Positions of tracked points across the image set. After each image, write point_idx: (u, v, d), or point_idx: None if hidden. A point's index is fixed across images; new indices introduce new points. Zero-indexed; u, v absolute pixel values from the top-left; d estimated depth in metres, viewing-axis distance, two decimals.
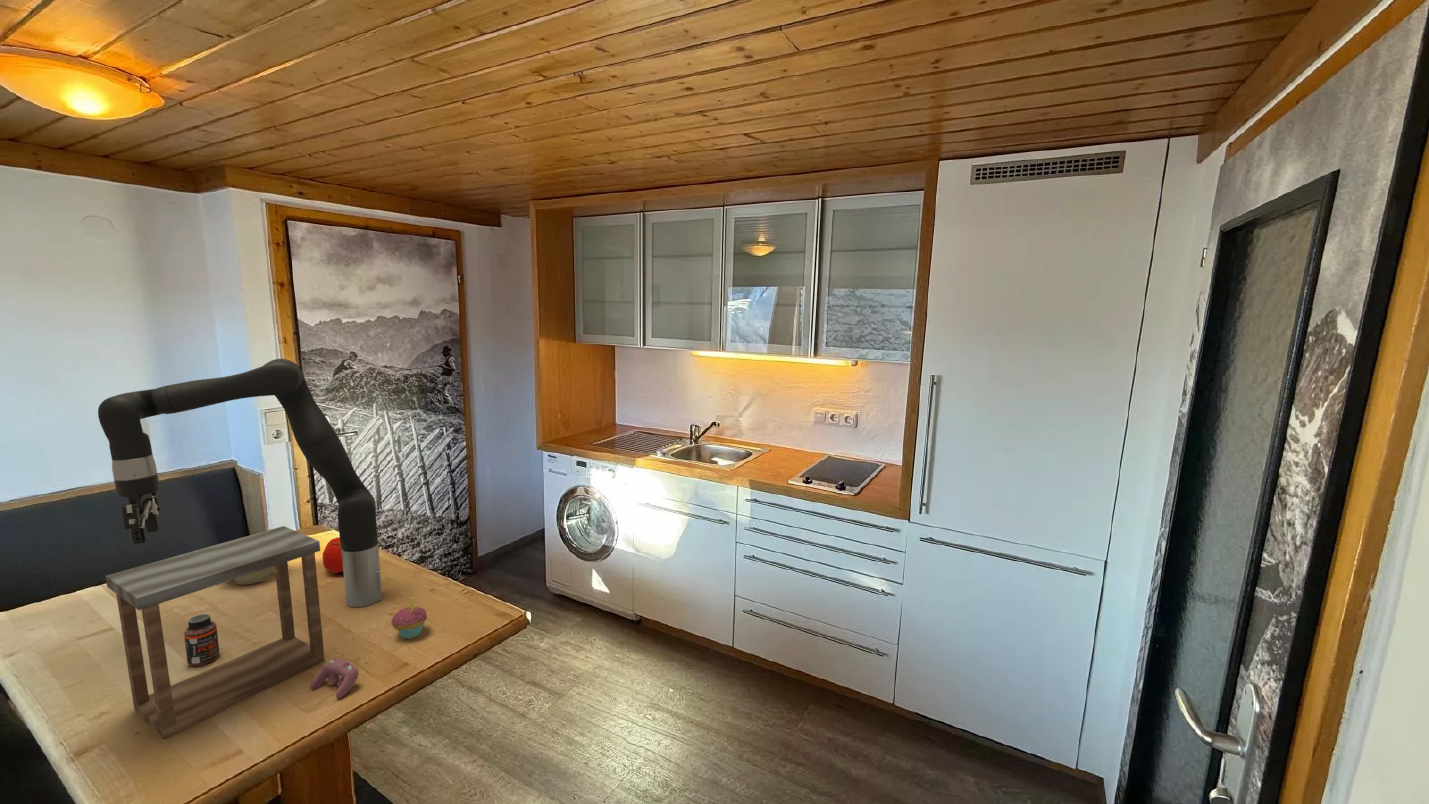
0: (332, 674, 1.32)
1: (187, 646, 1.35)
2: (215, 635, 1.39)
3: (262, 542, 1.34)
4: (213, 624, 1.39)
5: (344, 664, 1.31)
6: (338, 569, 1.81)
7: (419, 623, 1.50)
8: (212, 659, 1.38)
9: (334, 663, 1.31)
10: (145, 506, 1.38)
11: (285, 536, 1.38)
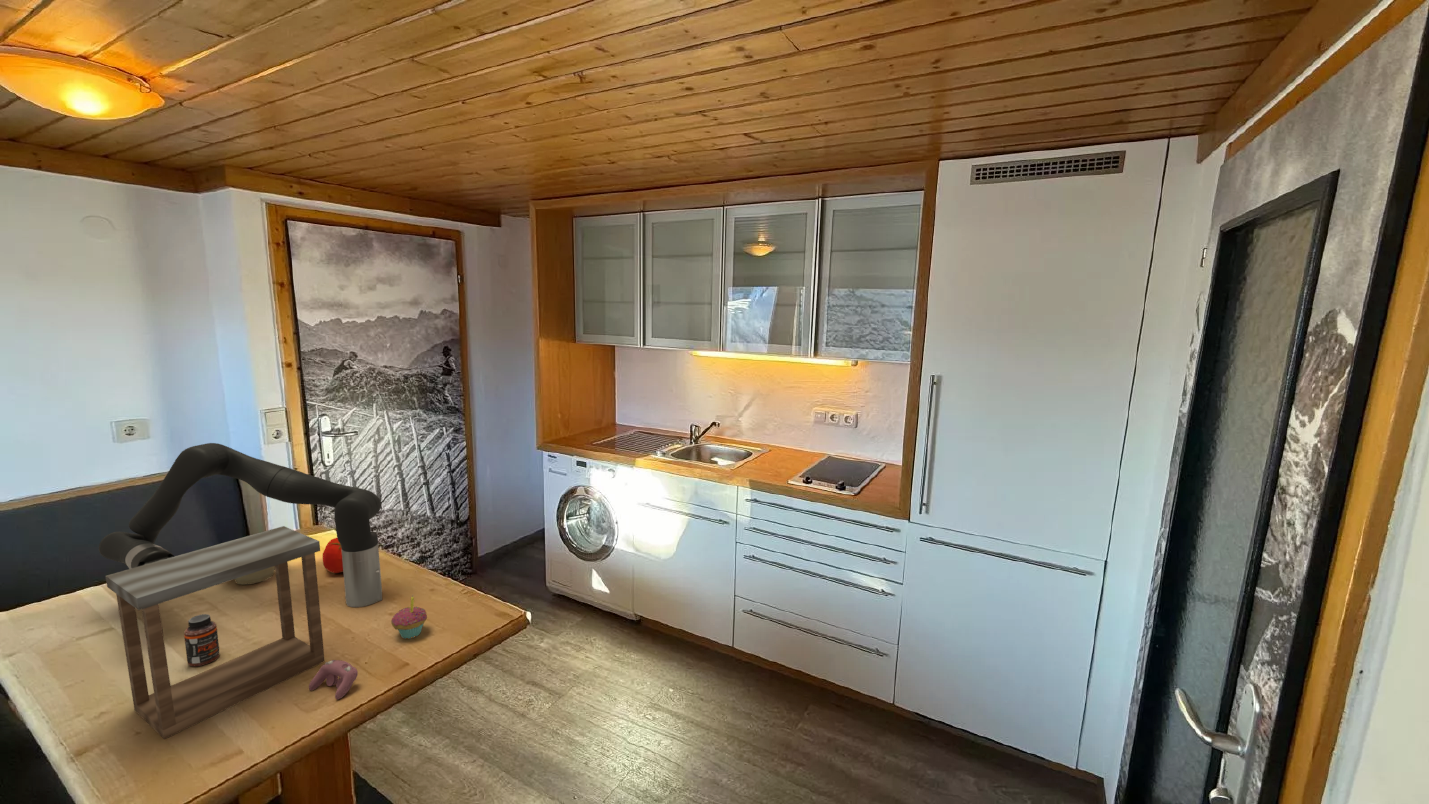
0: (331, 675, 1.31)
1: (187, 646, 1.35)
2: (215, 635, 1.39)
3: (262, 542, 1.34)
4: (213, 624, 1.39)
5: (342, 665, 1.30)
6: (338, 569, 1.81)
7: (419, 623, 1.50)
8: (212, 659, 1.38)
9: (333, 664, 1.31)
10: None
11: (285, 536, 1.38)
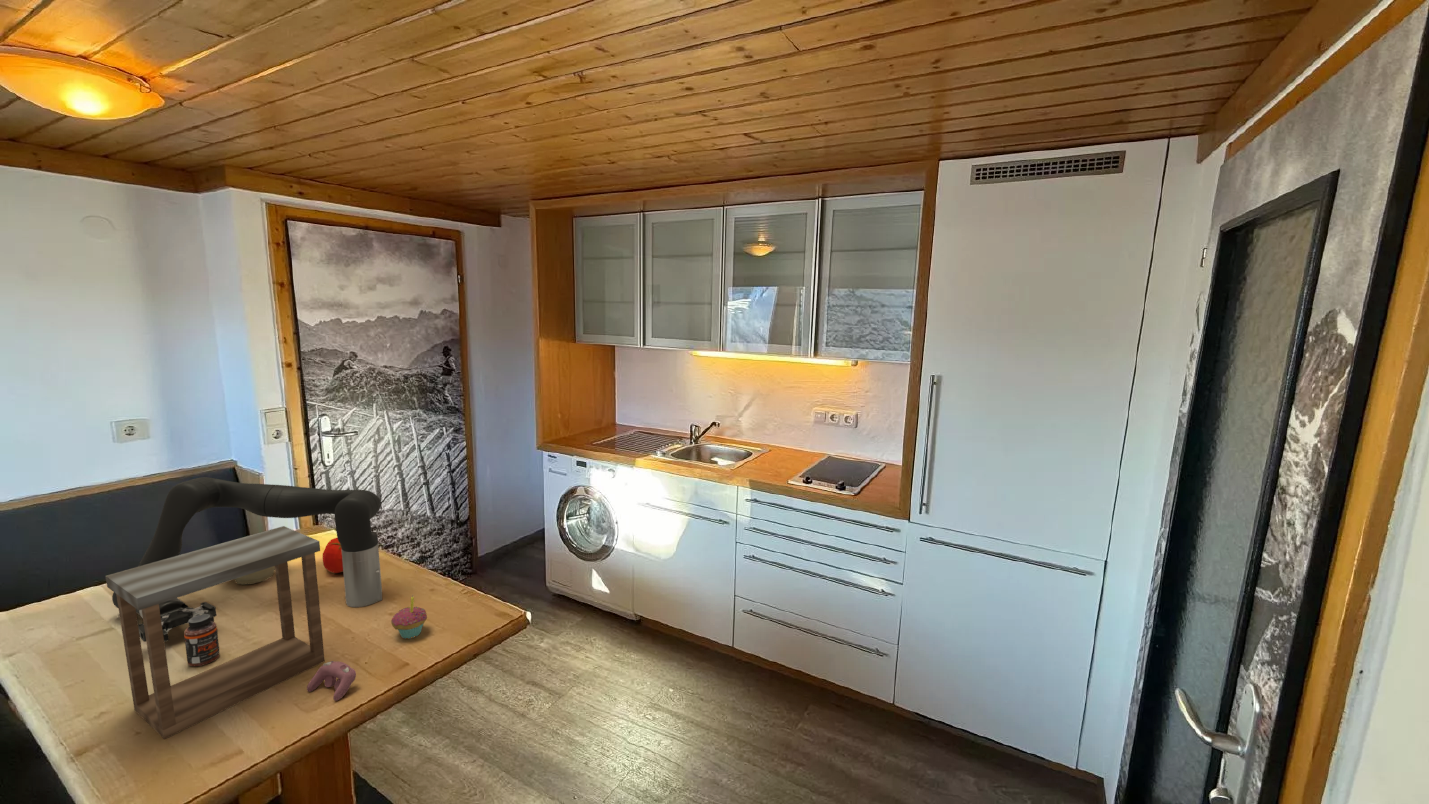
0: (329, 676, 1.31)
1: (187, 646, 1.35)
2: (215, 635, 1.39)
3: (262, 542, 1.34)
4: (213, 624, 1.39)
5: (341, 666, 1.30)
6: (338, 569, 1.81)
7: (419, 623, 1.50)
8: (212, 659, 1.38)
9: (331, 665, 1.30)
10: None
11: (285, 536, 1.38)
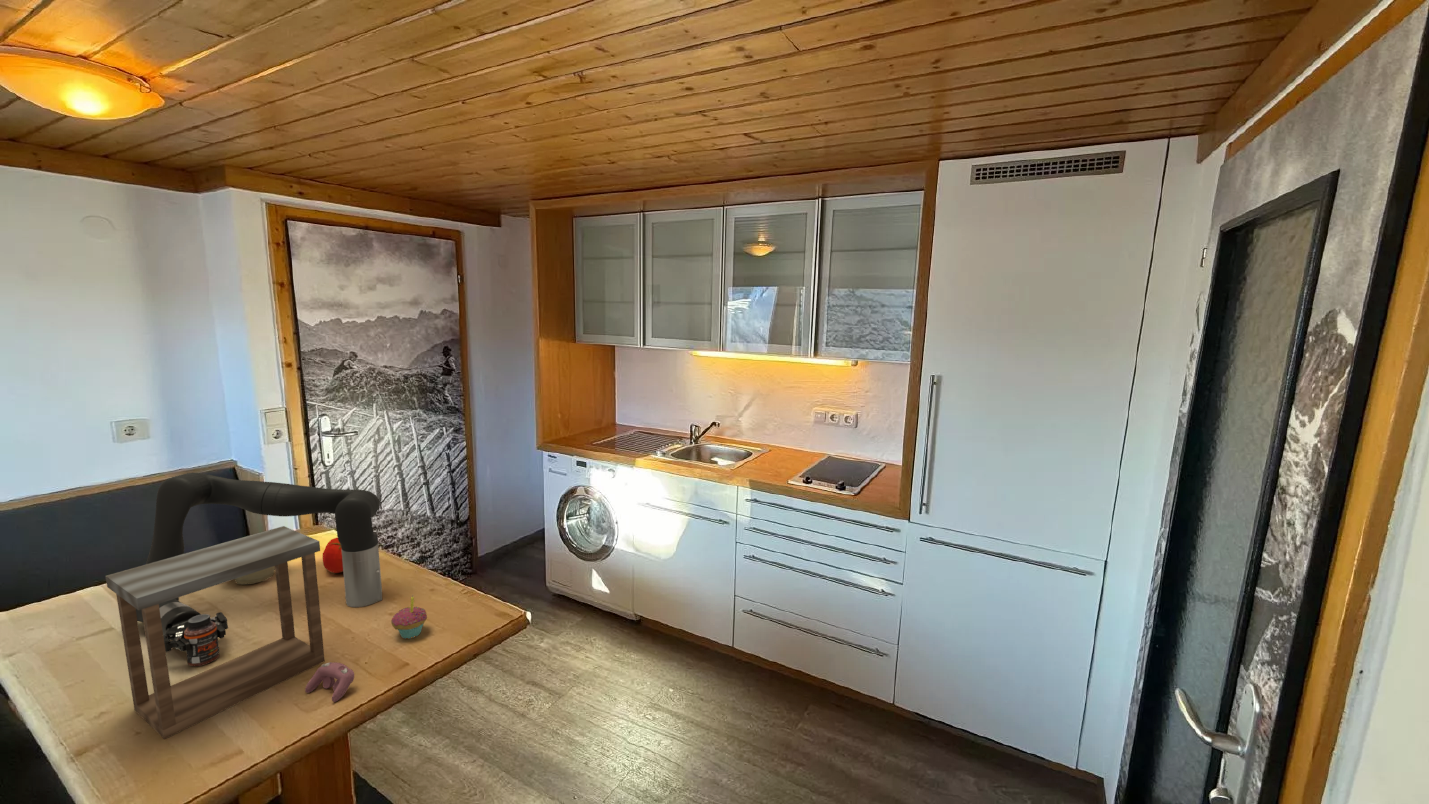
0: (327, 677, 1.31)
1: None
2: (215, 635, 1.39)
3: (262, 542, 1.34)
4: (213, 624, 1.39)
5: (339, 667, 1.30)
6: (338, 569, 1.81)
7: (419, 623, 1.50)
8: (212, 659, 1.38)
9: (329, 666, 1.30)
10: (177, 629, 1.39)
11: (285, 536, 1.38)
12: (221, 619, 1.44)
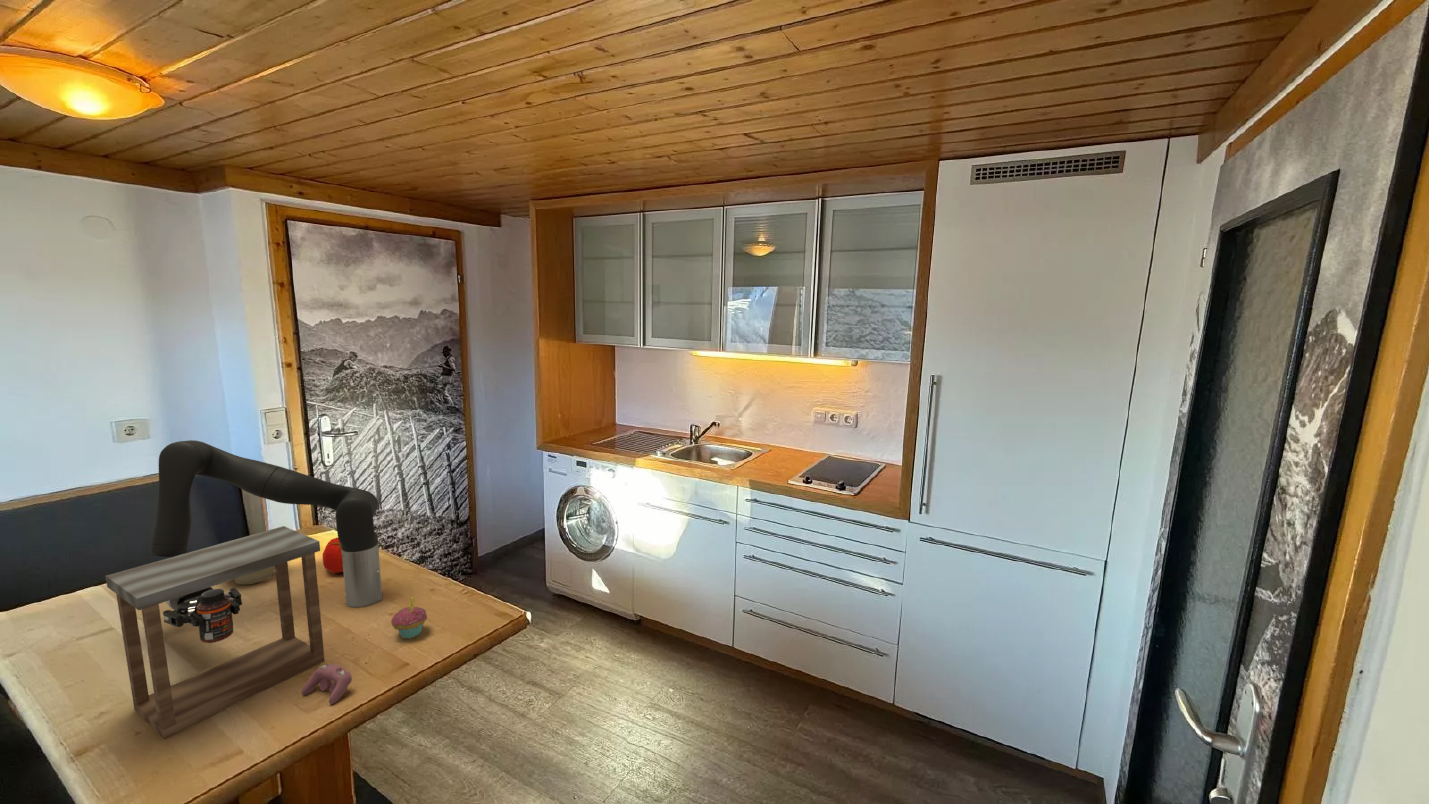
0: (324, 679, 1.30)
1: None
2: (229, 611, 1.32)
3: (262, 542, 1.34)
4: (227, 599, 1.32)
5: (336, 669, 1.29)
6: (338, 569, 1.81)
7: (419, 623, 1.50)
8: (226, 635, 1.32)
9: (326, 668, 1.29)
10: (190, 604, 1.33)
11: (285, 536, 1.38)
12: (235, 595, 1.38)
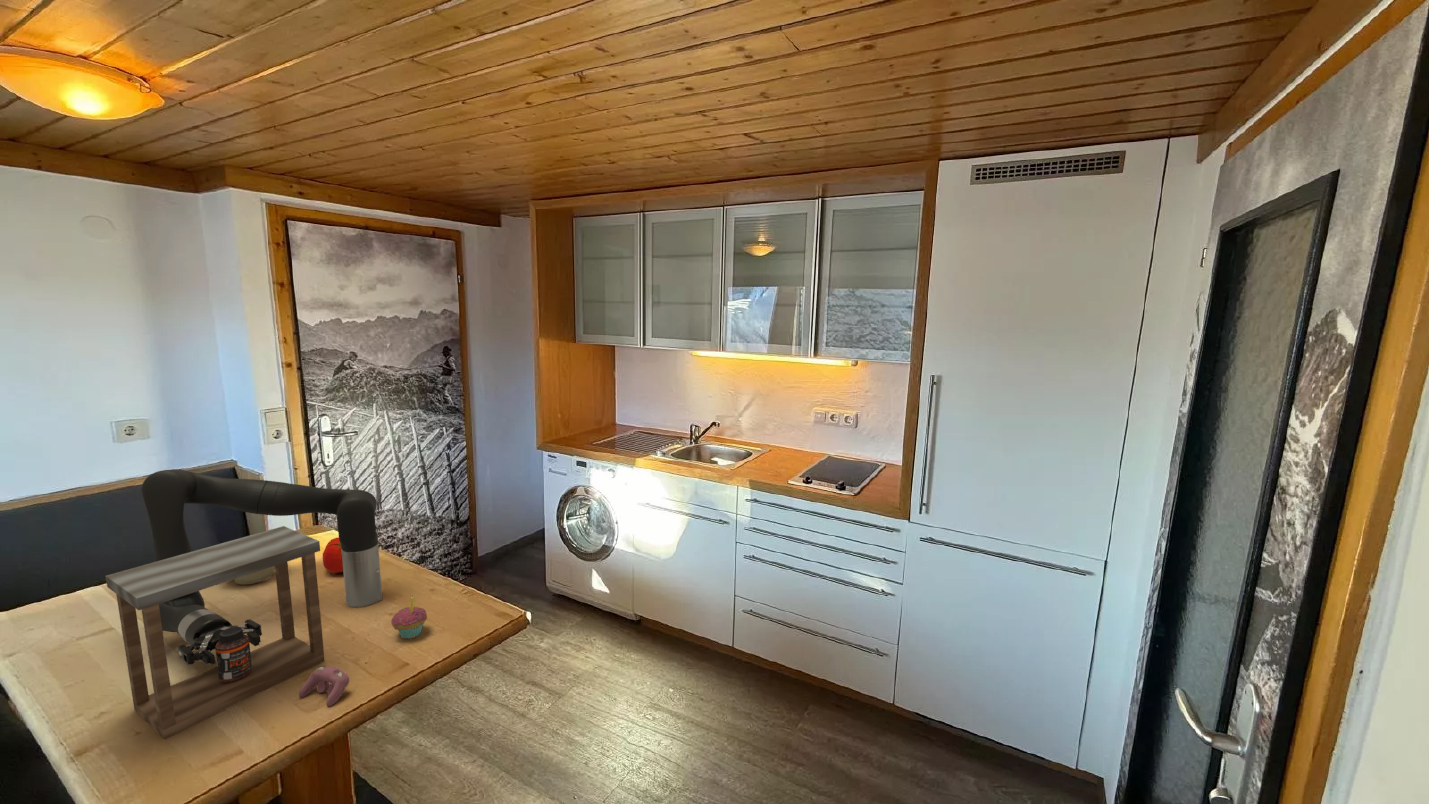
0: (322, 681, 1.29)
1: (219, 661, 1.27)
2: (247, 649, 1.31)
3: (262, 542, 1.34)
4: (245, 637, 1.30)
5: (334, 671, 1.28)
6: (338, 569, 1.81)
7: (419, 623, 1.50)
8: (244, 674, 1.30)
9: (324, 670, 1.28)
10: None
11: (285, 536, 1.38)
12: (254, 626, 1.36)
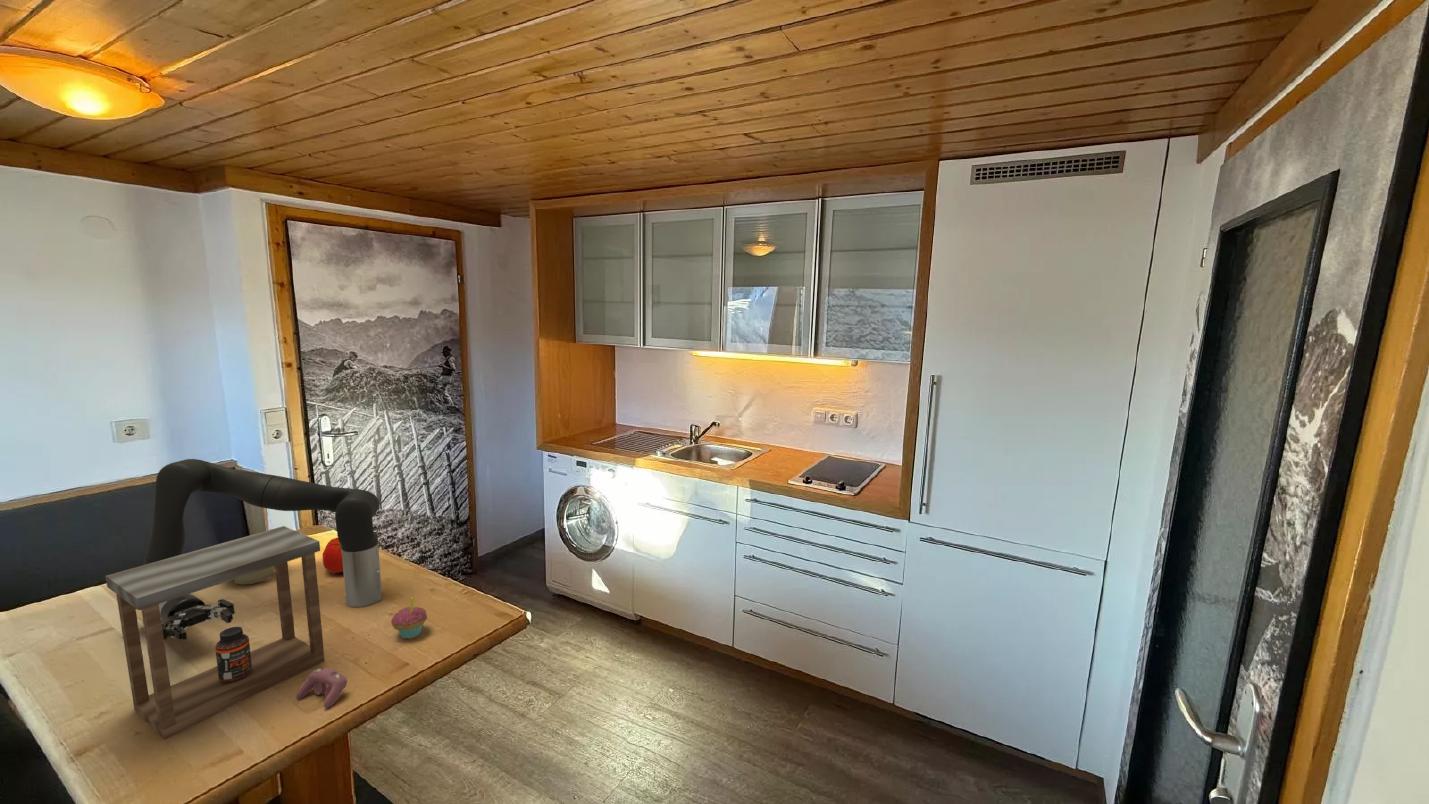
0: (319, 683, 1.28)
1: (219, 661, 1.27)
2: (248, 649, 1.31)
3: (262, 542, 1.34)
4: (245, 637, 1.31)
5: (331, 673, 1.28)
6: (338, 569, 1.81)
7: (419, 623, 1.50)
8: (244, 674, 1.30)
9: (321, 672, 1.28)
10: None
11: (285, 536, 1.38)
12: (227, 604, 1.43)
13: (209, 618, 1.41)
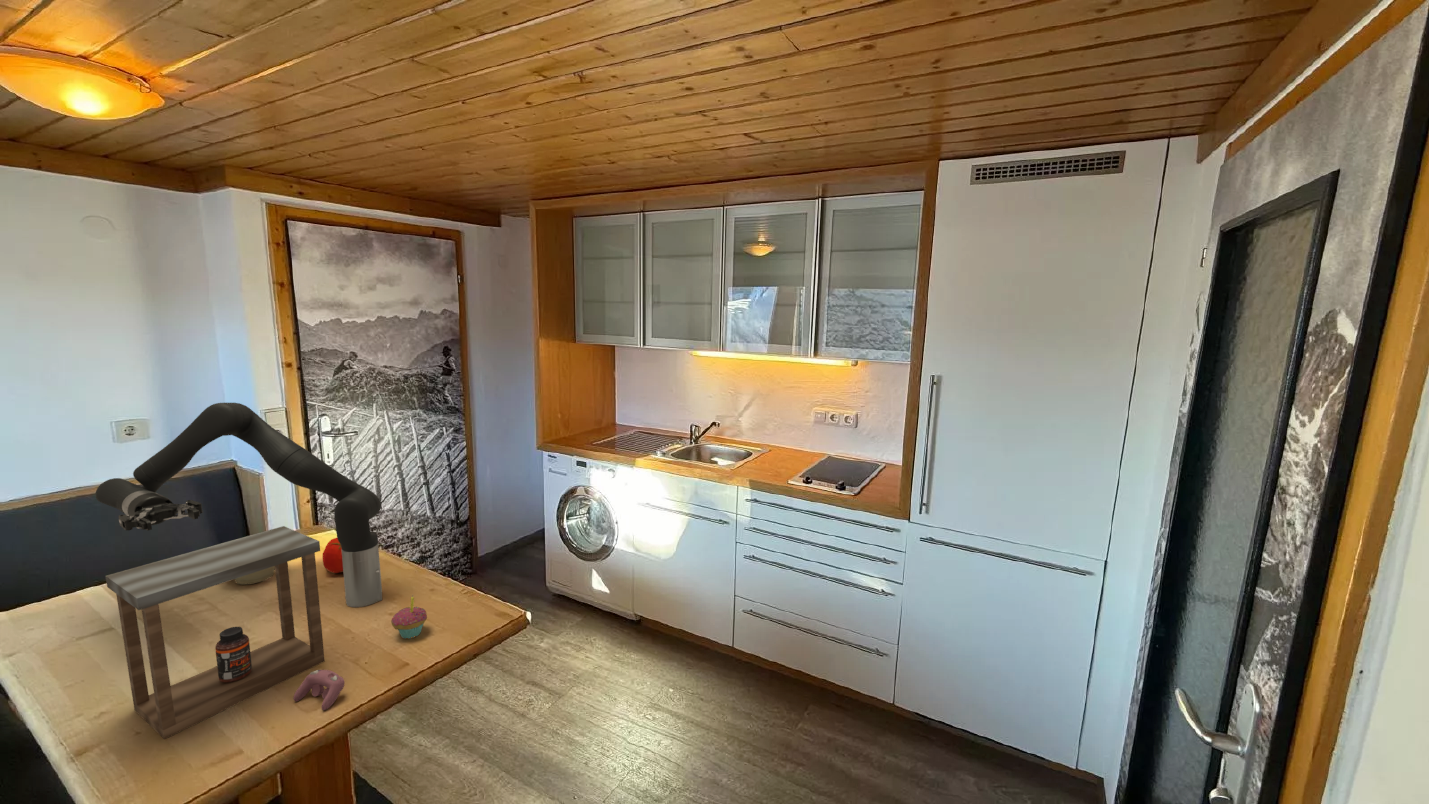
0: (316, 685, 1.28)
1: (219, 661, 1.27)
2: (248, 649, 1.31)
3: (262, 542, 1.34)
4: (245, 637, 1.31)
5: (329, 674, 1.27)
6: (338, 569, 1.81)
7: (419, 623, 1.50)
8: (244, 674, 1.30)
9: (318, 674, 1.27)
10: None
11: (285, 536, 1.38)
12: (195, 503, 1.44)
13: (176, 515, 1.42)
